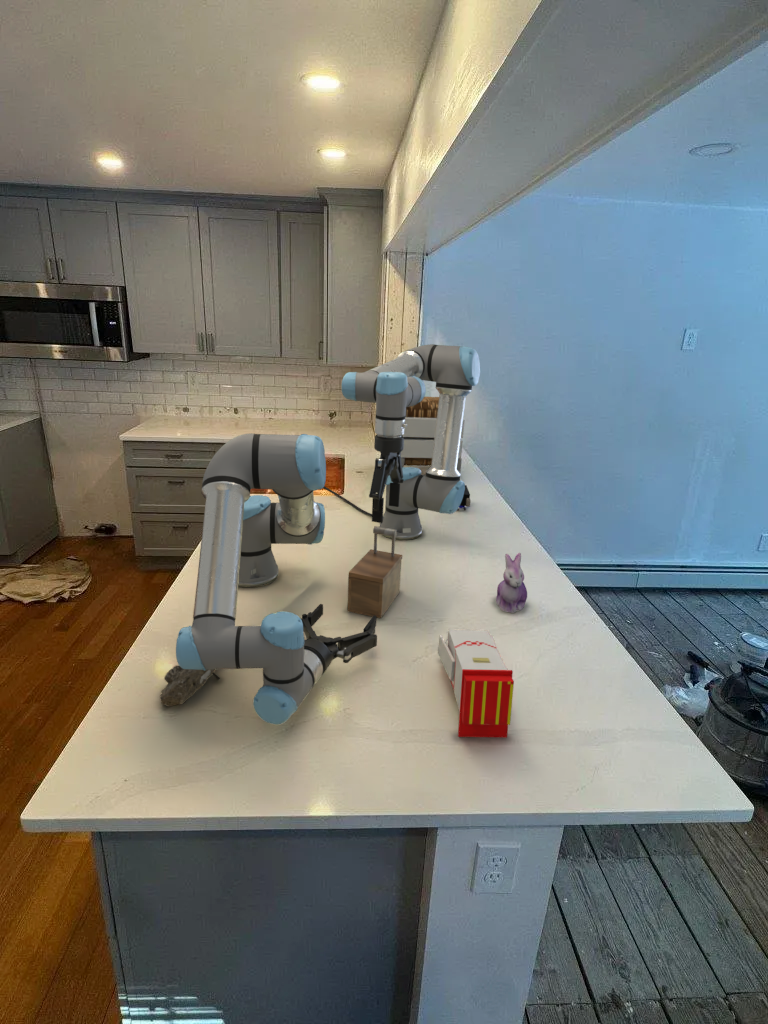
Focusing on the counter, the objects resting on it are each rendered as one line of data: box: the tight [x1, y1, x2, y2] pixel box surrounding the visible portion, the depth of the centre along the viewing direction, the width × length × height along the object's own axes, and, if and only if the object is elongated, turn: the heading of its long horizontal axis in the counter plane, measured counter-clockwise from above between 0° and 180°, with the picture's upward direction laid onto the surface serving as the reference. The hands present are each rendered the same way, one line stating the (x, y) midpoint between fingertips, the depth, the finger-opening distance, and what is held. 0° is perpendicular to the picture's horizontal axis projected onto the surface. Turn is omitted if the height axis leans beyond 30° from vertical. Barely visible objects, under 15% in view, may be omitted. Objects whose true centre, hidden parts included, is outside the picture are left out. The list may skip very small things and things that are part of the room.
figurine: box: [495, 552, 528, 614], centre depth 152 cm, size 9×10×15 cm
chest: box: [347, 560, 402, 619], centre depth 152 cm, size 16×9×10 cm, turn 161°
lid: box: [347, 525, 403, 583], centre depth 149 cm, size 16×9×9 cm, turn 161°
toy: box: [437, 628, 515, 738], centre depth 117 cm, size 12×13×30 cm
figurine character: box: [456, 484, 471, 512], centre depth 229 cm, size 7×8×15 cm
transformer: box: [401, 396, 465, 475], centre depth 268 cm, size 34×33×41 cm
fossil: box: [159, 664, 221, 707], centre depth 118 cm, size 22×10×15 cm
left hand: (347, 614), depth 134 cm, fingers open, 13 cm apart
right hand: (385, 513), depth 151 cm, fingers open, 13 cm apart
